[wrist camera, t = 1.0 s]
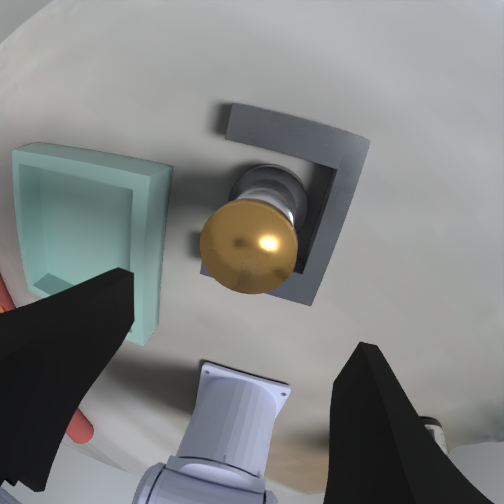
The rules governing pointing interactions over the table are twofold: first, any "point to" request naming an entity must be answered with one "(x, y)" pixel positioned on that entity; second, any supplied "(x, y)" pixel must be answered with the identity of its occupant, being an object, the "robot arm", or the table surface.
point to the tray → (91, 222)
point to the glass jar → (256, 231)
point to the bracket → (316, 150)
